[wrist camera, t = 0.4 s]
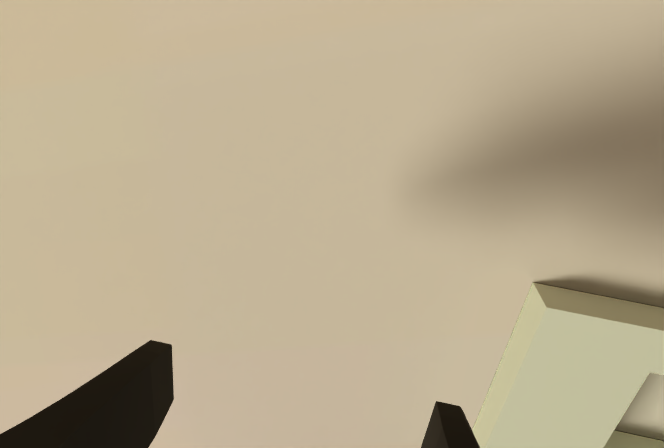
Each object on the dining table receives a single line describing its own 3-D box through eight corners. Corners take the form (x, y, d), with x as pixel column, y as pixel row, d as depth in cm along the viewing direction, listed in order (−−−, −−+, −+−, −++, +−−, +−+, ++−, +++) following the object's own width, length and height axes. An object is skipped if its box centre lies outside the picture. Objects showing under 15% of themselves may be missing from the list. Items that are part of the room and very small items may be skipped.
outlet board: (694, 530, 24) (718, 570, 22) (454, 474, 25) (458, 508, 24) (854, 345, 18) (904, 378, 17) (532, 282, 19) (546, 307, 18)
